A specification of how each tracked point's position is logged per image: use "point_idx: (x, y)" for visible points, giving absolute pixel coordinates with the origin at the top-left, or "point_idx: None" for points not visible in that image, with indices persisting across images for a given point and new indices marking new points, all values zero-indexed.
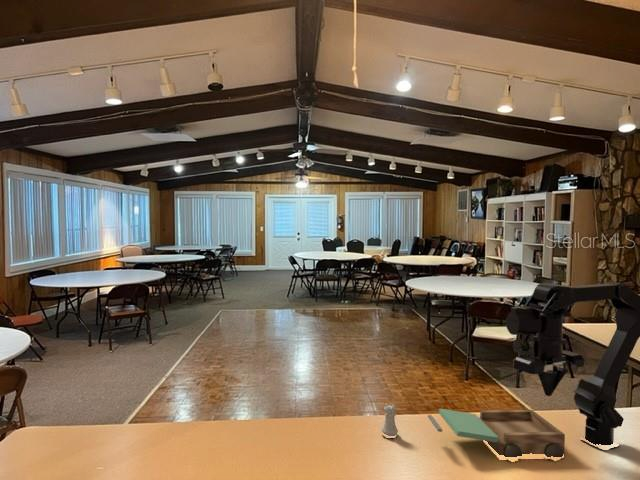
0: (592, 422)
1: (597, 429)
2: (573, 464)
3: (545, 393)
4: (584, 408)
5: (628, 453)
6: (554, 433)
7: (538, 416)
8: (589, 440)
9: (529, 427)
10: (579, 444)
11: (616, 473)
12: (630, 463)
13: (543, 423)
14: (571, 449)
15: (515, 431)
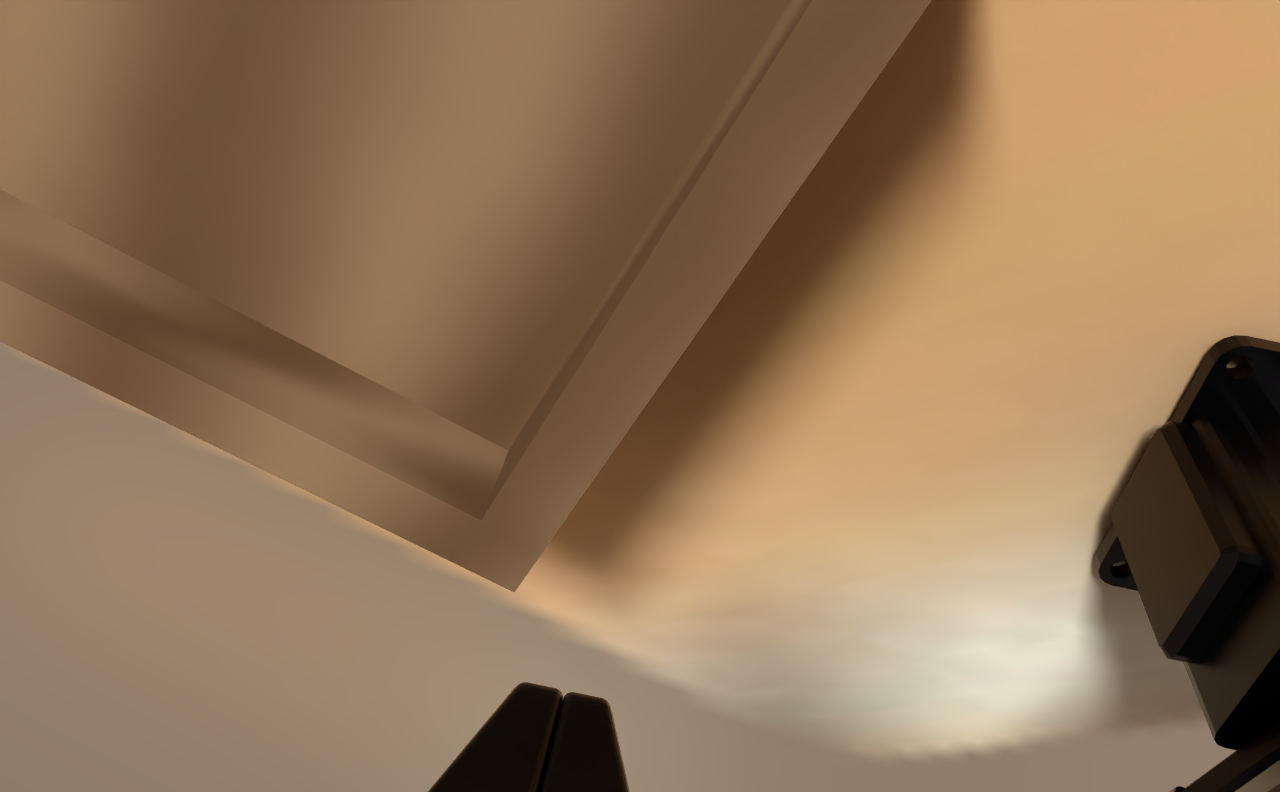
0: (1250, 678)
1: (1190, 673)
2: None
3: (493, 723)
4: (1278, 789)
5: None
6: (405, 521)
7: (791, 114)
8: (1143, 488)
9: (525, 52)
10: (1088, 369)
11: (731, 699)
12: (1022, 723)
13: (636, 267)
14: (868, 365)
15: (177, 6)
